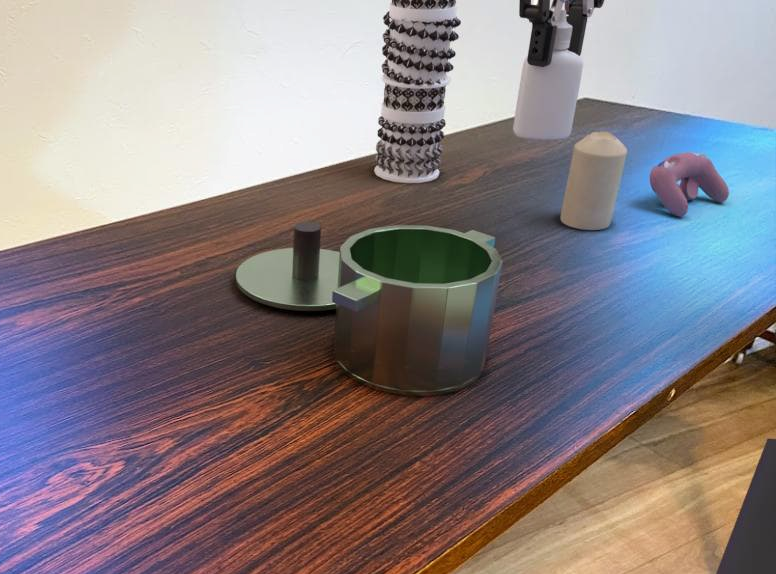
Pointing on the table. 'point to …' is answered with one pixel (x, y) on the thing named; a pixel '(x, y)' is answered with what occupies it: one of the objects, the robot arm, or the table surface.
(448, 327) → the pot
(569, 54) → the eye dropper bottle
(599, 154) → the candle
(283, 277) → the lid
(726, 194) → the video game controller
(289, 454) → the table surface
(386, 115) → the bracelet display stand
